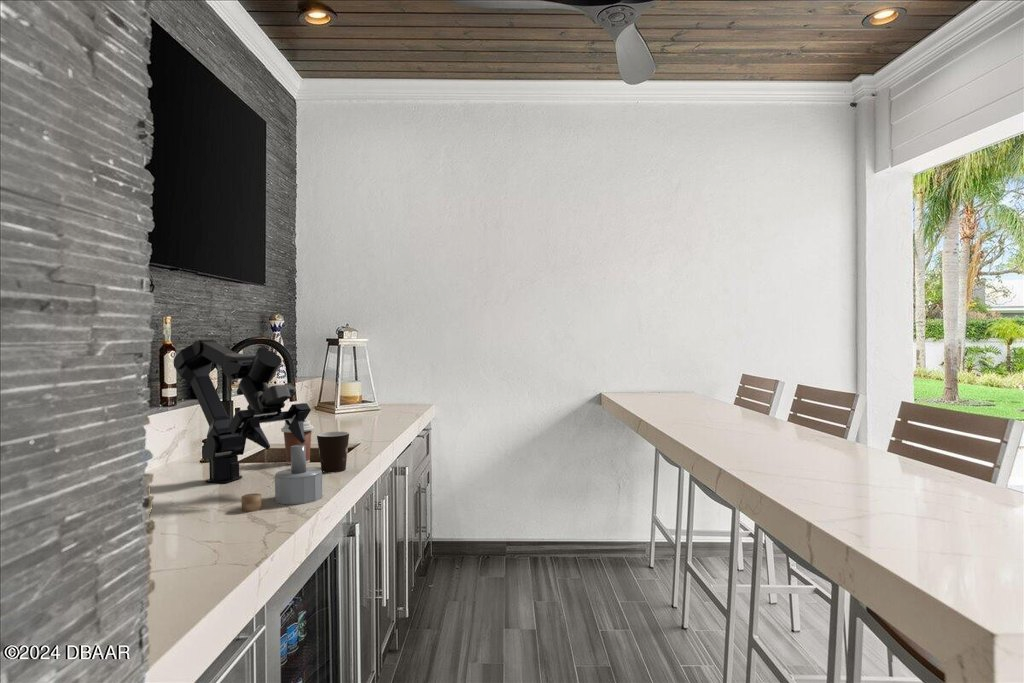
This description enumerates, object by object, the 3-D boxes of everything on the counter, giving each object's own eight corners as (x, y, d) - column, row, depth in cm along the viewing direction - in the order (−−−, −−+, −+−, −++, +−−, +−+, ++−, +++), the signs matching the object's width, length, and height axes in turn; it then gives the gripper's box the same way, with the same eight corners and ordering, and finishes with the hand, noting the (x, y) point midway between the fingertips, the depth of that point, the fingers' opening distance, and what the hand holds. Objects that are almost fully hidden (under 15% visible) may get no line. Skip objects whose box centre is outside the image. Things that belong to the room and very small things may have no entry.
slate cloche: (266, 503, 139) (265, 449, 139) (292, 491, 148) (291, 441, 148) (306, 505, 136) (305, 450, 136) (330, 493, 146) (329, 442, 146)
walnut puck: (237, 511, 132) (237, 497, 132) (249, 506, 136) (249, 493, 136) (253, 512, 131) (253, 498, 131) (265, 507, 135) (265, 493, 135)
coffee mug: (340, 474, 167) (340, 436, 167) (311, 473, 169) (310, 436, 168) (359, 464, 178) (359, 430, 178) (332, 464, 180) (331, 429, 180)
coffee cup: (315, 458, 189) (315, 419, 188) (312, 464, 180) (312, 423, 180) (284, 460, 187) (283, 420, 186) (279, 466, 178) (278, 424, 178)
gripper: (234, 375, 140) (263, 427, 134) (305, 370, 155) (334, 417, 149) (216, 408, 145) (244, 460, 139) (287, 400, 160) (315, 447, 154)
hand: (286, 445), depth 145 cm, fingers open, 9 cm apart
